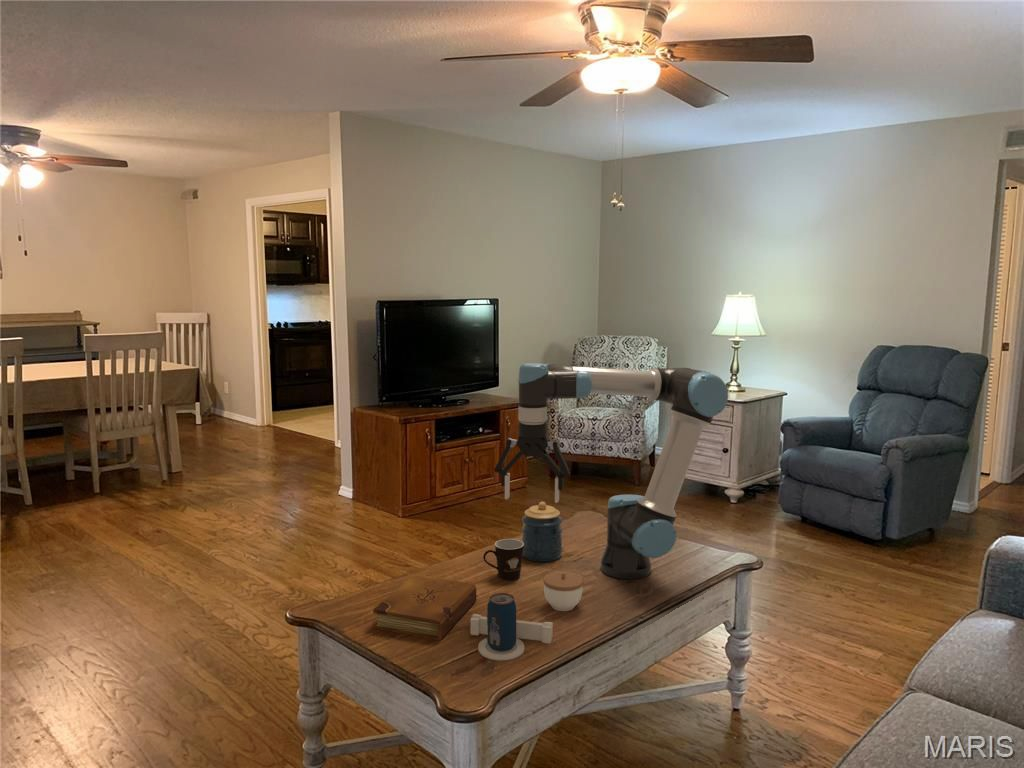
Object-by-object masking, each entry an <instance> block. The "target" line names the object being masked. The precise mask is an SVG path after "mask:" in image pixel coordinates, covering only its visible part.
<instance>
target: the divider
mask: <svg viewBox="0 0 1024 768" xmlns="http://www.w3.org/2000/svg"><path fill="white" fill-rule="evenodd" d="M553 624H554V623H553V622H551V621H543V622H535V621H527V620H525V621H524V620H518V619H516V638H518V639H520V640H521V639H522V640H523V639H524V640H531V641H540V642H542V643H543V644H548V645H549V644H551V643H552V640H553ZM479 635H484V636H485V635H486V636H487V616H482V614H478V613H477V614H476V613H473V615H472V616H471V618H470V636H479Z"/></svg>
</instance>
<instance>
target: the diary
mask: <svg viewBox="0 0 1024 768" xmlns="http://www.w3.org/2000/svg"><path fill="white" fill-rule="evenodd" d="M476 601H477V585H475V583H474V582H466V581H459V580H453V579H445V578H440V577H433V576H428V575H427V576H424V575H419V574H413V575H412V576H411V577H410V578H409V579H407V580H406V581H405V582H404V583H403V584H402V585H400V586H399V587H398V588H397V589H396V590H395V591H393V592H392V593H391V594H390V595H388V596H387V597H386V598H385V599H383V601H381V602H380V603H379V604H377V606H375V607H374V608H373V609H372V612H373V614H376V624H375V625H374V626H373V629H374V628H376V629H375V630H379V629H381V630H380V631H385V630H388V631H387V632H390V631H392V632H391V633H396V632H397V634H401V633H403V635H407V634H408V636H412V635H414V637H418V636H419V638H423V637H425V638H424V639H431V640H434V641H441V640H442V639H443V638H444V636H446V635H447V633H448V632H450V630H451V629H452V628H453V627H454V626H455V625H456V624H457V622H458V621H459V620H460V619H461V618H462V617H463V616H464V614H465V613H466V612H467V611H469V609H470V608H471V607H472V606H473V605H474V604H475V602H476Z"/></svg>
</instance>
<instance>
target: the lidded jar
mask: <svg viewBox="0 0 1024 768" xmlns="http://www.w3.org/2000/svg"><path fill="white" fill-rule="evenodd" d="M583 590H584V578H583V577H582V576H581V575H580V574H578V573H575V572H572V571H566V570H565V571H563V570H561V571H559V570H558V571H551V572H548V573H547V574H545V575H544V577H543V593H544V596H545V599H546V602H547V603H548V604H549V605H550V606H551V608H553V610H556V611H559V612H569V611H572V610H573V609H574V608H575V607H576V606H577V605H578V604H579V602H580V601H581V600H582V595H583Z"/></svg>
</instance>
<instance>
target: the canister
mask: <svg viewBox="0 0 1024 768" xmlns="http://www.w3.org/2000/svg"><path fill="white" fill-rule="evenodd" d="M560 515H561V513H560V511H559V510H558V509H557V508H556V507H554V506H552V505H547V504H546V502H545V501H540V502H539V503H538V505H537V504H535V505H532V506H530V507H529V508H528V509H526V510H524V516H523V517H522V519H521V522H522V523H523V526H522V528H521V531H522V532H521V534H522V535H521V536H522V537H521V541H522V542H523V543H524V548H523V556H522V558H525V559H526V560H529V561H531V562H537V563H538V562H539V563H550V562H554V561H556V560H558V559H560V558H561V557H562V553H563V546H562V543H563V542H562V540H563V538H562V537H563V536H562V535H563V528H562V523H563V521H564V520H563V518H562V517H561V516H560Z"/></svg>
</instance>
